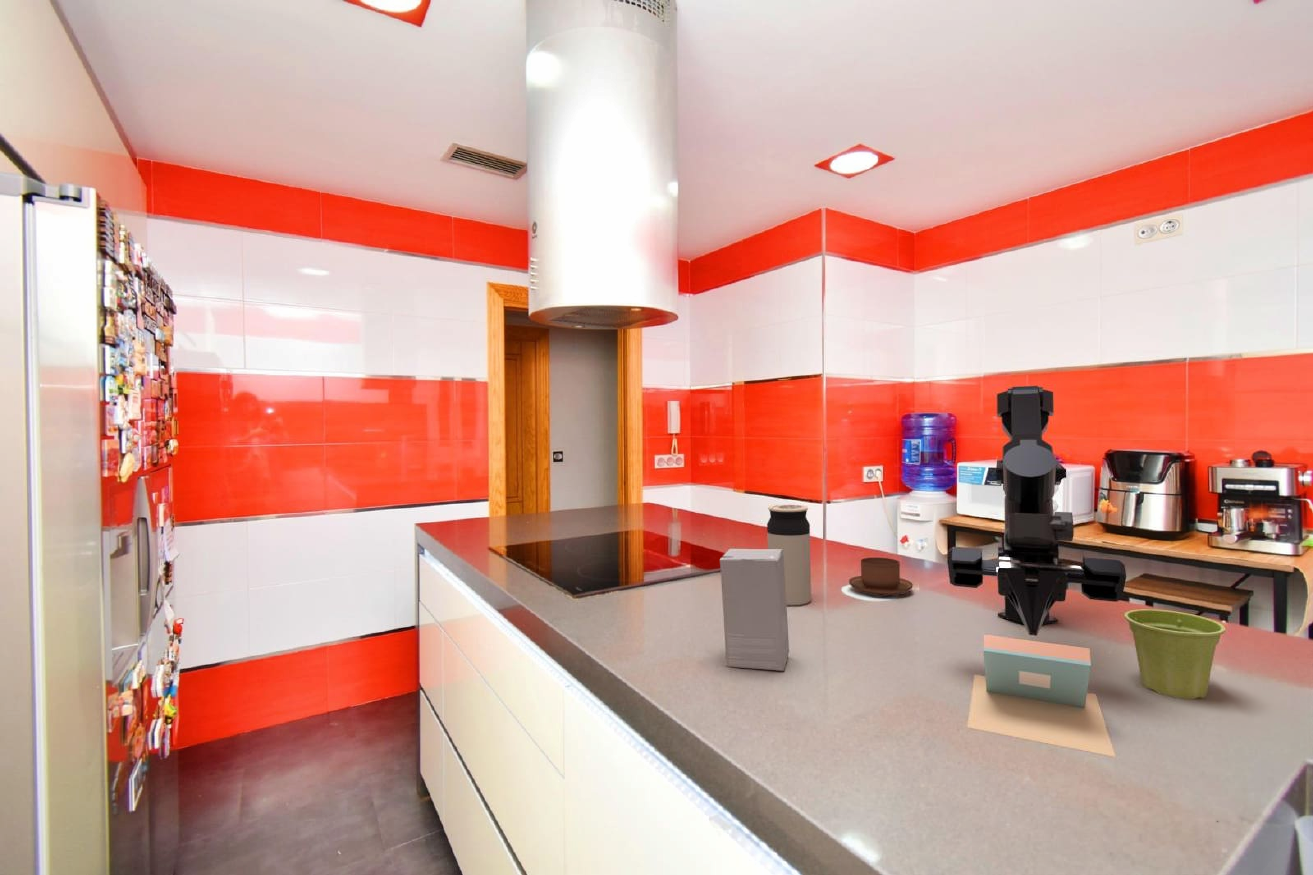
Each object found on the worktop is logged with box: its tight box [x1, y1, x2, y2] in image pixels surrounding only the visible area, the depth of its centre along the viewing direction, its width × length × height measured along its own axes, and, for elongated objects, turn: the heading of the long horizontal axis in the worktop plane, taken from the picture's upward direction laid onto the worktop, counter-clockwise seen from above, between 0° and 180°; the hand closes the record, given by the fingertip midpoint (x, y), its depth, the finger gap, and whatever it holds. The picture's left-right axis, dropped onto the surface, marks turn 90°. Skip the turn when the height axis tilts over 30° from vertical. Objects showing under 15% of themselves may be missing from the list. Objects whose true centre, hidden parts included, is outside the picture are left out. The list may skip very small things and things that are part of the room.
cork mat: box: [966, 674, 1116, 758], centre depth 70 cm, size 16×13×1 cm
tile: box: [982, 634, 1092, 708], centre depth 71 cm, size 2×10×10 cm
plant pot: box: [1124, 608, 1226, 700], centre depth 75 cm, size 9×9×9 cm
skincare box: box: [719, 548, 790, 672], centre depth 87 cm, size 8×7×16 cm
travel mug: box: [766, 504, 812, 607], centre depth 118 cm, size 8×8×18 cm
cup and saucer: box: [848, 556, 913, 597], centre depth 123 cm, size 12×12×6 cm
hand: (1033, 633), depth 72 cm, fingers closed
